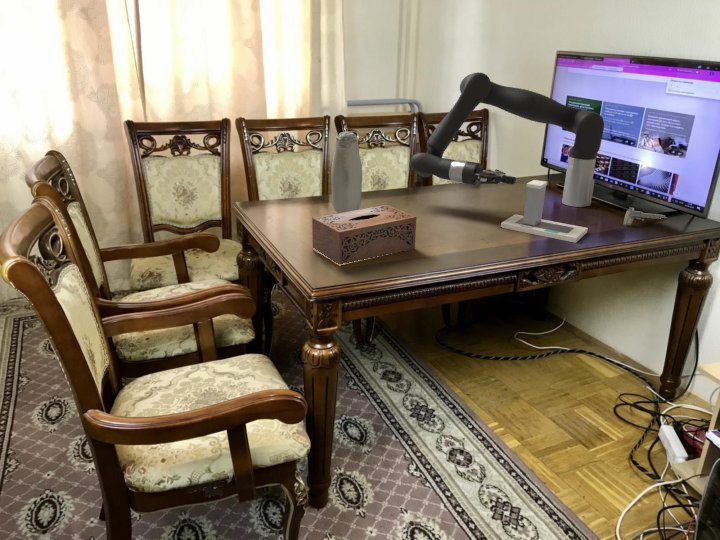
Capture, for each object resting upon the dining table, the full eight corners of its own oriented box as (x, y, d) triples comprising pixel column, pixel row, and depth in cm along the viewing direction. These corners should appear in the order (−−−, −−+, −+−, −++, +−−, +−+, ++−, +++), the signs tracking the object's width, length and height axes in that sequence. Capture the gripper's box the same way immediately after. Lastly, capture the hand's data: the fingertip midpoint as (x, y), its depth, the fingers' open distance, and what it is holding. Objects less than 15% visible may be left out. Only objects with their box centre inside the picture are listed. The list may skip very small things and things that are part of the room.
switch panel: (500, 227, 189) (501, 222, 188) (514, 218, 198) (515, 213, 198) (575, 242, 176) (576, 237, 176) (587, 232, 185) (587, 227, 185)
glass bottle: (329, 211, 203) (328, 129, 192) (357, 209, 205) (358, 128, 195) (334, 219, 194) (334, 134, 183) (364, 218, 196) (365, 133, 186)
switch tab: (521, 223, 187) (526, 183, 182) (528, 218, 192) (533, 179, 187) (535, 226, 185) (540, 185, 180) (542, 221, 190) (547, 181, 185)
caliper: (625, 226, 192) (629, 208, 190) (622, 225, 193) (626, 207, 191) (666, 219, 201) (670, 201, 198) (664, 218, 202) (668, 200, 199)
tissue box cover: (385, 235, 181) (386, 204, 177) (414, 249, 170) (416, 216, 166) (312, 251, 168) (312, 217, 164) (339, 267, 157) (339, 232, 153)
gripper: (457, 164, 190) (508, 172, 181) (475, 158, 200) (524, 165, 191) (455, 187, 193) (505, 196, 184) (473, 179, 203) (520, 188, 194)
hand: (514, 180), depth 188 cm, fingers closed
